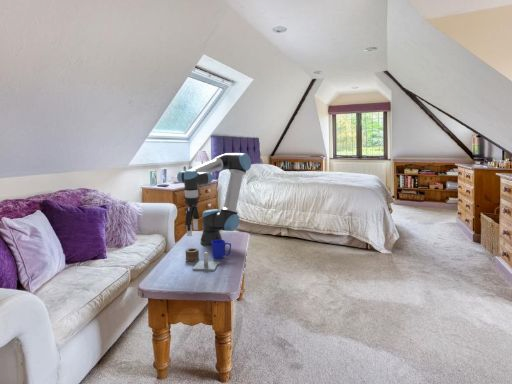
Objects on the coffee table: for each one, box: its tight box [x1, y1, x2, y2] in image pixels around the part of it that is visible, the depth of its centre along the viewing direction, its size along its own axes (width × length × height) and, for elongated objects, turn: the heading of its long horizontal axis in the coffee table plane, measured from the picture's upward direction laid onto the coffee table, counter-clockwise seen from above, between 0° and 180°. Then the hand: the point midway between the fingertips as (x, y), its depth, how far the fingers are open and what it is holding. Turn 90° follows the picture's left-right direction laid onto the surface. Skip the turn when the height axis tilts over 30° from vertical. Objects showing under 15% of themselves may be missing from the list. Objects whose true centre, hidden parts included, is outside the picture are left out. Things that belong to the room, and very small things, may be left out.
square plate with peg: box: [192, 251, 220, 272], centre depth 182 cm, size 12×12×8 cm
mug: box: [211, 239, 232, 260], centre depth 197 cm, size 8×12×10 cm
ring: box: [185, 247, 200, 263], centre depth 194 cm, size 7×7×6 cm
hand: (192, 232), depth 191 cm, fingers open, 13 cm apart
